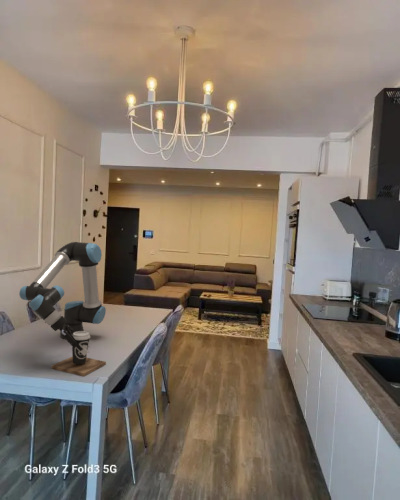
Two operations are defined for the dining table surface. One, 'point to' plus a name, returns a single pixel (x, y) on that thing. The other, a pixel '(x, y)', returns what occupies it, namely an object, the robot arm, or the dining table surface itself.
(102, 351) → the dining table surface
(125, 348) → the dining table surface
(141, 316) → the dining table surface
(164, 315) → the dining table surface
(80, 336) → the coffee cup
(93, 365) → the wooden board
